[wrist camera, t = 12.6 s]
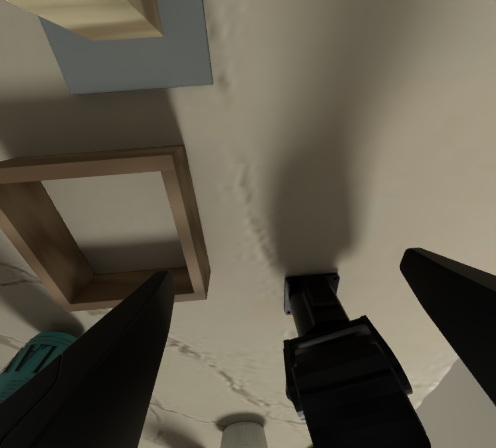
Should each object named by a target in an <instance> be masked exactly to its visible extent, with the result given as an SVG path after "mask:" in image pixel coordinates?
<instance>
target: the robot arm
mask: <svg viewBox="0 0 496 448" xmlns="http://www.w3.org/2000/svg"><path fill="white" fill-rule="evenodd" d="M400 270H401V272H402V274H403V276H404V277H405V279H406V281H407V282H408V284H409V286H410V287H411V289H412V291H413V292H414V294H415V296H416V297H417V299H418V300H419V302H420V304H421V305H422V307H423V308H424V310H425V311H426V313H427V314H428V315H429V317H430V318H431V319H432V321H433V322H434V323H435V325H436V326H437V327H438V329H439V330H440V332H441V333H442V334H443V336H444V337H445V338H446V340H447V341H448V342H449V344H450V345H451V346H452V348H453V349H454V350H455V352H456V353H457V355H458V356H459V357H460V359H461V360H462V361H463V363H464V364H465V365H466V367H467V368H468V369H469V371H470V372H471V373H472V375H473V376H474V378H475V379H476V380H477V382H478V383H479V384H480V386H481V387H482V388H483V390H484V391H485V392H486V394H487V395H488V396H489V398H490V399H491V400H492V402H493V403H494V405H495V406H496V276H495V275H492V274H490V273H487V272H484V271H482V270H479V269H476V268H473V267H471V266H468V265H465V264H463V263H460V262H457V261H454V260H452V259H449V258H446V257H444V256H441V255H438V254H436V253H433V252H430V251H427V250H425V249H422V248H409V249H407V250H406V251H405V253H404V255H403V258H402V260H401V263H400ZM339 279H340V277H339V275H338V274H337V273H328V274H317V275H306V276H295V277H288V278H286V280H285V305H284V311H285V314H286V315H293V318H294V322H295V325H296V329H297V332H298V336H299V337H297V338H294V339H291V340H289V339H287V340H284V349H283V352H284V362H285V372H286V395H287V398H288V399H289V400H290V401H291V402H293V405H294V407H295V409H296V412H297V414H298V416H299V418H300V419H301V420H306V424H307V427H308V430H309V433H310V436H311V440H312V443H313V446H314V448H431V444H430V441H429V439H428V437H427V435H426V432H425V430H424V427H423V425H422V423H421V421H420V419H419V418H418V416H417V414H416V412H415V410H414V408H413V406H412V404H411V402H410V400H409V398H408V396H407V395H409V394H412V393H413V392H412V388H411V385H410V383H409V381H408V378H407V376H406V374H405V372H404V370H403V369H402V367H401V365H400V363H399V361H398V360H397V358H396V356H395V355H394V353H393V352H392V350H391V349H390V347H389V346H388V345H387V343H386V342H385V341H384V339H383V338H382V337H381V335H380V334H379V333H378V331H377V330H376V329H375V327H374V326H373V324H372V323H371V322H370V320H369V319H368V318H367V316H366V315H364V316H361V317H360V318H358V319H355V320H351V321H350V320H349V318H348V316H347V314H346V312H345V310H344V308H343V307H342V305H341V303H340V301H339V299H338V297H337V295H336V293H337V288H338V283H339ZM175 291H176V287H175V283H174V280H173V277H172V274H171V271H170V270H168V269H167V270H158V271H157V272H155V273H154V274H153V275H152V276H151V277H150V278H148V279H147V280H146V281H145V282H144V283H143V284H141V285H140V286H139V287H138V288H137V289H136V290H134V291H133V292H132V293H131V294H130V295H129V296H127V297H126V298H125V299H124V300H123V301H121V302H120V303H119V304H118V305H117V306H116V307H114V308H113V309H112V310H111V311H110V312H109V313H107V314H106V315H105V316H104V317H103V318H102V319H100V320H99V321H98V322H97V323H96V324H95V325H93V326H92V327H91V328H90V329H89V330H88V331H86V332H85V333H84V334H83V335H82V336H81V337H79V338H78V339H77V340H76V341H75V342H73V343H72V344H71V345H70V346H69V347H68V348H66V349H65V350H64V351H63V352H62V354H60V355H58V356H57V357H56V358H55V359H53V360H52V361H51V362H50V363H49V364H48V365H46V366H45V367H44V368H43V369H42V370H40V371H39V372H38V373H37V374H36V375H34V376H33V377H32V378H31V379H30V380H28V381H27V382H26V383H25V384H24V385H22V386H21V387H20V388H19V389H18V390H16V391H15V392H14V393H12V394H11V395H10V396H9V397H7V398H6V399H5V400H4V401H2V402H1V403H0V448H138V444H139V440H140V437H141V433H142V429H143V426H144V422H145V418H146V415H147V411H148V407H149V404H150V400H151V396H152V392H153V389H154V385H155V381H156V378H157V374H158V370H159V367H160V363H161V359H162V356H163V352H164V348H165V345H166V341H167V337H168V333H169V329H170V323H171V317H172V310H173V304H174V298H175Z"/></svg>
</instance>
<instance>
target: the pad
mask: <svg viewBox="0 0 496 448" xmlns="http://www.w3.org/2000/svg"><path fill="white" fill-rule="evenodd" d="M157 5H158V10H159V15H160V20H161V25H162V30H163V35H164V37H148V38H133V39H117V40H102V41H92V40H90V39H88V38H86V37H84V36H81V35H79V34H77V33H75V32H73V31H71V30H68V29H66V28H64V27H62V26H60V25H57V24H55V23H53V22H51V21H49V20H47V19H44V18H42V17H40V16H38V17H39V19H40V21H41V24H42V26H43V29H44V31H45V33H46V36H47V38H48V41H49V43H50V45H51V48H52V50H53V53H54V55H55V57H56V60H57V62H58V65H59V67H60V69H61V72H62V74H63V77H64V79H65V81H66V84H67V86H68V89H69V91H70V93H71V94H73V95H80V94H93V93H106V92H120V91H133V90H146V89H159V88H172V87H186V86H199V85H212V84H213V79H212V71H211V63H210V55H209V47H208V39H207V31H206V23H205V15H204V7H203V0H157Z"/></svg>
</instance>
